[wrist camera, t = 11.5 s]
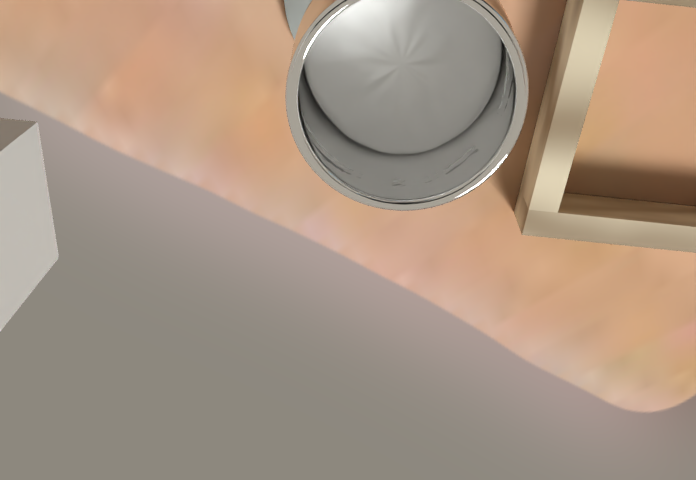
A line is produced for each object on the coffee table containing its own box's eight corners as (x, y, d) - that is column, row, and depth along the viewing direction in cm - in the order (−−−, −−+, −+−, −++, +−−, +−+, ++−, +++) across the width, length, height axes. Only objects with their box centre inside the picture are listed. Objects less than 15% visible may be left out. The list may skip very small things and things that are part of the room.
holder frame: (579, -50, 30) (594, -42, 28) (874, -18, 30) (912, -8, 28) (513, 212, 37) (522, 234, 35) (754, 237, 37) (776, 261, 35)
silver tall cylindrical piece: (443, -114, 28) (495, -83, 15) (490, 39, 31) (565, 171, 19) (296, -47, 30) (231, 31, 17) (355, 92, 33) (337, 247, 20)
